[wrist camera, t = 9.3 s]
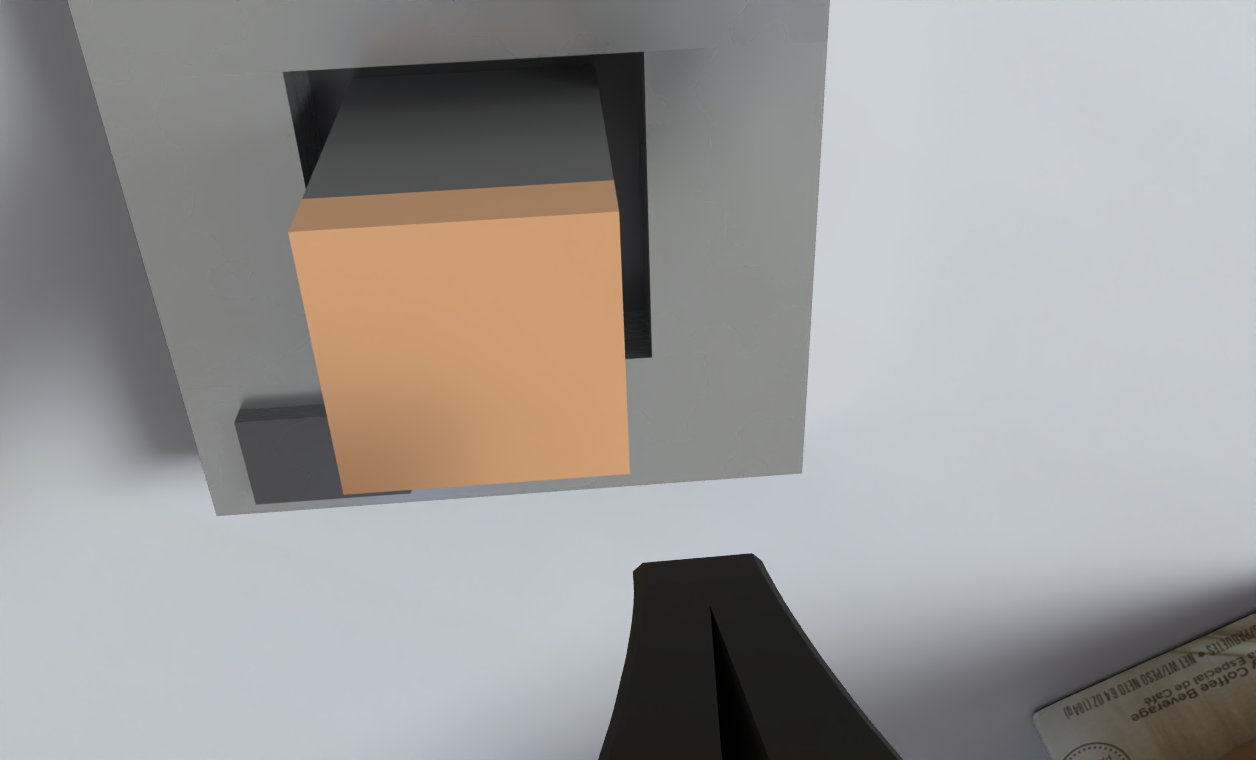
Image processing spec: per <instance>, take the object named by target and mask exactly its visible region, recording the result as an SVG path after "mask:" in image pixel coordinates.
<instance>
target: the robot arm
mask: <svg viewBox="0 0 1256 760" xmlns="http://www.w3.org/2000/svg"><path fill="white" fill-rule="evenodd" d="M633 581H634V605H633V616H632V624H631V631H630V637H629V643H628V649H627V655H626V660H625V664H624V668H623V672H622V677H621V681H620V685H619V689H618V694H617V698H616V702H615V706H614V710H613V714H612V717H611V721H610V724H609V727H608V731H607V734H606V737H605V740H604V743H603V746H602V749H601V753H600V756H599V759H598V760H903V759H902V758H901V757H900V755H899V754H898V753H897V752H896V751H895V750H894V748H893V747H892V746H891V745H890V744H889V743H888V741H887V740H886V739H885V738H884V737H883V735H882V734H881V733H880V732H879V731H878V730H877V728H876V727H875V726H874V725H873V724H872V722H871V721H870V720H869V719H868V717H867V716H866V715H865V714H864V712H863V711H862V710H861V709H860V707H859V706H858V705H857V704H856V702H855V701H854V700H853V698H852V697H851V696H850V694H849V693H848V692H847V690H846V689H845V688H844V686H843V685H842V684H841V682H840V681H839V680H838V679H837V677H836V676H835V675H834V673H833V672H832V671H831V669H830V668H829V667H828V665H827V664H826V663H825V661H824V660H823V658H822V657H821V656H820V654H819V653H818V651H817V650H816V648H815V647H814V646H813V644H812V643H811V641H810V640H809V638H808V637H807V635H806V634H805V632H804V631H803V629H802V628H801V626H800V625H799V623H798V622H797V620H796V619H795V617H794V616H793V614H792V613H791V611H790V609H789V608H788V606H787V605H786V603H785V601H784V600H783V598H782V596H781V595H780V593H779V591H778V590H777V588H776V586H775V584H774V583H773V581H772V579H771V577H770V576H769V574H768V572H767V570H766V568H765V566H764V564H763V562H762V561H761V560H760V559H759V558H758V557H756V556H755V555H754V554H752V553H751V554H739V555H728V556H716V557H705V558H693V559H682V560H670V561H659V562H647V563H642V564H641V565H640V566H639V567H638V568H637V569H635V570H634V571H633Z"/></svg>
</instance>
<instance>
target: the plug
mask: <svg viewBox="0 0 1256 760" xmlns="http://www.w3.org/2000/svg"><path fill="white" fill-rule="evenodd" d="M288 234H289V239H290V243H291V248H292V253H293V258H294V262H295V267H296V272H297V277H298V281H299V286H300V291H301V295H302V300H303V305H304V310H305V314H306V319H307V324H308V329H309V333H310V338H311V343H312V348H313V352H314V357H315V362H316V366H317V371H318V376H319V381H320V385H321V390H322V395H323V400H324V404H325V409H326V414H327V419H328V423H329V428H330V433H331V437H332V442H333V447H334V452H335V456H336V461H337V466H338V471H339V475H340V480H341V485H342V490H343V494H344V495H347V494H360V493H374V492H388V491H402V490H416V489H429V488H443V487H457V486H471V485H485V484H498V483H512V482H526V481H540V480H554V479H567V478H581V477H595V476H609V475H623V474H630V463H629V438H628V414H627V390H626V366H625V342H624V317H623V293H622V269H621V245H620V221H619V208H618V202H617V196H616V190H615V184H614V178H613V172H612V166H611V160H610V154H609V148H608V142H607V136H606V130H605V124H604V118H603V112H602V106H601V100H600V94H599V88H598V82H597V76H596V70H595V65H586V66H568V67H550V68H533V69H515V70H497V71H479V72H462V73H444V74H426V75H408V76H390V77H373V78H355V79H352V81H351V83H350V86H349V88H348V90H347V93H346V95H345V98H344V100H343V102H342V105H341V107H340V110H339V112H338V114H337V117H336V119H335V121H334V124H333V126H332V129H331V131H330V133H329V136H328V138H327V141H326V143H325V145H324V148H323V150H322V152H321V155H320V157H319V160H318V162H317V164H316V167H315V169H314V172H313V174H312V176H311V179H310V181H309V184H308V186H307V188H306V191H305V193H304V195H303V198H302V200H301V203H300V205H299V207H298V210H297V212H296V215H295V217H294V219H293V222H292V224H291V226H290V229H289V231H288Z"/></svg>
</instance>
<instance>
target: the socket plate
mask: <svg viewBox="0 0 1256 760" xmlns="http://www.w3.org/2000/svg"><path fill="white" fill-rule="evenodd" d="M67 1H68V5H69V8H70V12H71V15H72V18H73V22H74V25H75V29H76V32H77V36H78V39H79V43H80V46H81V49H82V53H83V56H84V60H85V63H86V67H87V70H88V74H89V77H90V80H91V84H92V87H93V91H94V94H95V98H96V101H97V105H98V108H99V112H100V115H101V118H102V122H103V125H104V129H105V132H106V136H107V139H108V143H109V146H110V149H111V153H112V156H113V160H114V163H115V167H116V170H117V174H118V177H119V180H120V184H121V187H122V191H123V194H124V198H125V201H126V205H127V208H128V211H129V215H130V218H131V222H132V225H133V229H134V232H135V236H136V239H137V243H138V246H139V249H140V253H141V256H142V260H143V263H144V267H145V270H146V274H147V277H148V280H149V284H150V287H151V291H152V294H153V298H154V301H155V305H156V308H157V311H158V315H159V318H160V322H161V325H162V329H163V332H164V336H165V339H166V342H167V346H168V349H169V353H170V356H171V360H172V363H173V367H174V370H175V374H176V377H177V380H178V384H179V387H180V391H181V394H182V398H183V401H184V405H185V408H186V411H187V415H188V418H189V422H190V425H191V429H192V432H193V436H194V439H195V442H196V446H197V449H198V453H199V456H200V460H201V463H202V467H203V470H204V473H205V477H206V480H207V484H208V487H209V491H210V494H211V498H212V501H213V505H214V508H215V511H216V515H217V516H224V515H237V514H251V513H265V512H278V511H292V510H306V509H319V508H333V507H347V506H361V505H374V504H388V503H402V502H415V501H429V500H443V499H456V498H470V497H484V496H498V495H511V494H525V493H539V492H552V491H566V490H580V489H593V488H607V487H621V486H635V485H648V484H662V483H676V482H689V481H703V480H717V479H730V478H744V477H758V476H772V475H785V474H799V473H802V463H803V446H804V429H805V412H806V395H807V378H808V361H809V344H810V327H811V310H812V293H813V276H814V259H815V242H816V225H817V209H818V192H819V175H820V158H821V141H822V124H823V107H824V90H825V73H826V56H827V39H828V22H829V5H830V0H67ZM586 65H595V70H596V76H597V82H598V88H599V94H600V100H601V106H602V112H603V118H604V124H605V130H606V136H607V142H608V148H609V154H610V160H611V166H612V172H613V178H614V184H615V190H616V196H617V202H618V208H619V221H620V245H621V269H622V293H623V317H624V342H625V366H626V390H627V414H628V438H629V463H630V474H623V475H609V476H595V477H581V478H567V479H554V480H540V481H526V482H512V483H498V484H485V485H471V486H457V487H443V488H429V489H416V490H402V491H388V492H374V493H360V494H347V495H344V494H343V490H342V485H341V480H340V475H339V471H338V466H337V461H336V456H335V452H334V447H333V442H332V437H331V433H330V428H329V423H328V419H327V414H326V409H325V404H324V400H323V395H322V390H321V385H320V381H319V376H318V371H317V366H316V362H315V357H314V352H313V348H312V343H311V338H310V333H309V329H308V324H307V319H306V314H305V310H304V305H303V300H302V295H301V291H300V286H299V281H298V277H297V272H296V267H295V262H294V258H293V253H292V248H291V243H290V239H289V234H288V231H289V229H290V226H291V224H292V222H293V219H294V217H295V215H296V212H297V210H298V207H299V205H300V203H301V200H302V198H303V195H304V193H305V191H306V188H307V186H308V184H309V181H310V179H311V176H312V174H313V172H314V169H315V167H316V164H317V162H318V160H319V157H320V155H321V152H322V150H323V148H324V145H325V143H326V141H327V138H328V136H329V133H330V131H331V129H332V126H333V124H334V121H335V119H336V117H337V114H338V112H339V110H340V107H341V105H342V102H343V100H344V98H345V95H346V93H347V90H348V88H349V86H350V83H351V81H352V79H355V78H373V77H390V76H408V75H426V74H444V73H462V72H479V71H497V70H515V69H533V68H550V67H568V66H586Z"/></svg>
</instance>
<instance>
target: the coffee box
mask: <svg viewBox="0 0 1256 760" xmlns="http://www.w3.org/2000/svg"><path fill="white" fill-rule="evenodd" d="M1032 719H1033V722H1034V725H1035V727H1036V729H1037V731H1038V733H1039V735H1040V737H1041V740H1042V742H1043V744H1044V746H1045V748H1046V750H1047V752H1048V754H1049V756H1050V759H1051V760H1256V613H1254V614H1252V615H1249V616H1247V617H1245V618H1243V619H1241V620H1238V621H1236V622H1234V623H1232V624H1230V625H1228V626H1225V627H1223V628H1221V629H1219V630H1217V631H1214V632H1212V633H1210V634H1208V635H1205V636H1203V637H1201V638H1199V639H1197V640H1194V641H1192V642H1190V643H1188V644H1185V645H1183V646H1181V647H1179V648H1176V649H1174V650H1172V651H1170V652H1167V653H1165V654H1163V655H1161V656H1158V657H1156V658H1154V659H1152V660H1149V661H1147V662H1145V663H1143V664H1140V665H1138V666H1136V667H1134V668H1131V669H1129V670H1127V671H1125V672H1122V673H1120V674H1118V675H1116V676H1114V677H1111V678H1109V679H1107V680H1105V681H1103V682H1100V683H1098V684H1096V685H1094V686H1091V687H1089V688H1087V689H1085V690H1082V691H1080V692H1078V693H1076V694H1074V695H1071V696H1069V697H1067V698H1065V699H1063V700H1060V701H1058V702H1056V703H1054V704H1052V705H1050V706H1048V707H1046V708H1044V709H1042V710H1040V711H1038V712H1036V713H1035V714H1034V715H1033V718H1032Z"/></svg>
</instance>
